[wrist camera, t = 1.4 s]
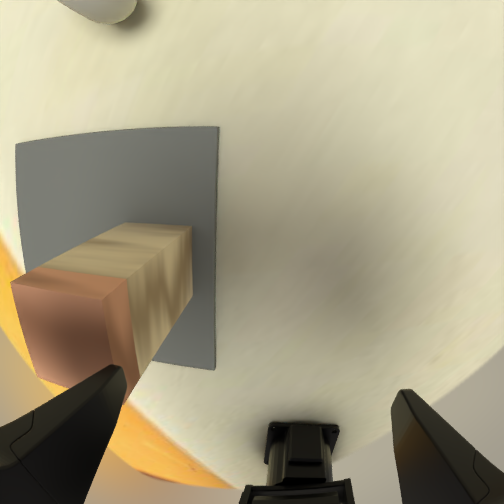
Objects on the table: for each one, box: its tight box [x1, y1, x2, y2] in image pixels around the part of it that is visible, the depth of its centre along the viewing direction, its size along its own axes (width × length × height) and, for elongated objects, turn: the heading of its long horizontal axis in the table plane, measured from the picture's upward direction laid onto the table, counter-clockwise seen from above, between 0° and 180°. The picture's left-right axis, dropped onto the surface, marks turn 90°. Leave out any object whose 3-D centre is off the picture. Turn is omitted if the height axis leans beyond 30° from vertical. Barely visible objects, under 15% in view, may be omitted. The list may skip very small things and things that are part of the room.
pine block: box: [10, 222, 193, 405], centre depth 17 cm, size 5×5×12 cm
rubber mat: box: [15, 127, 219, 370], centre depth 23 cm, size 18×18×1 cm
